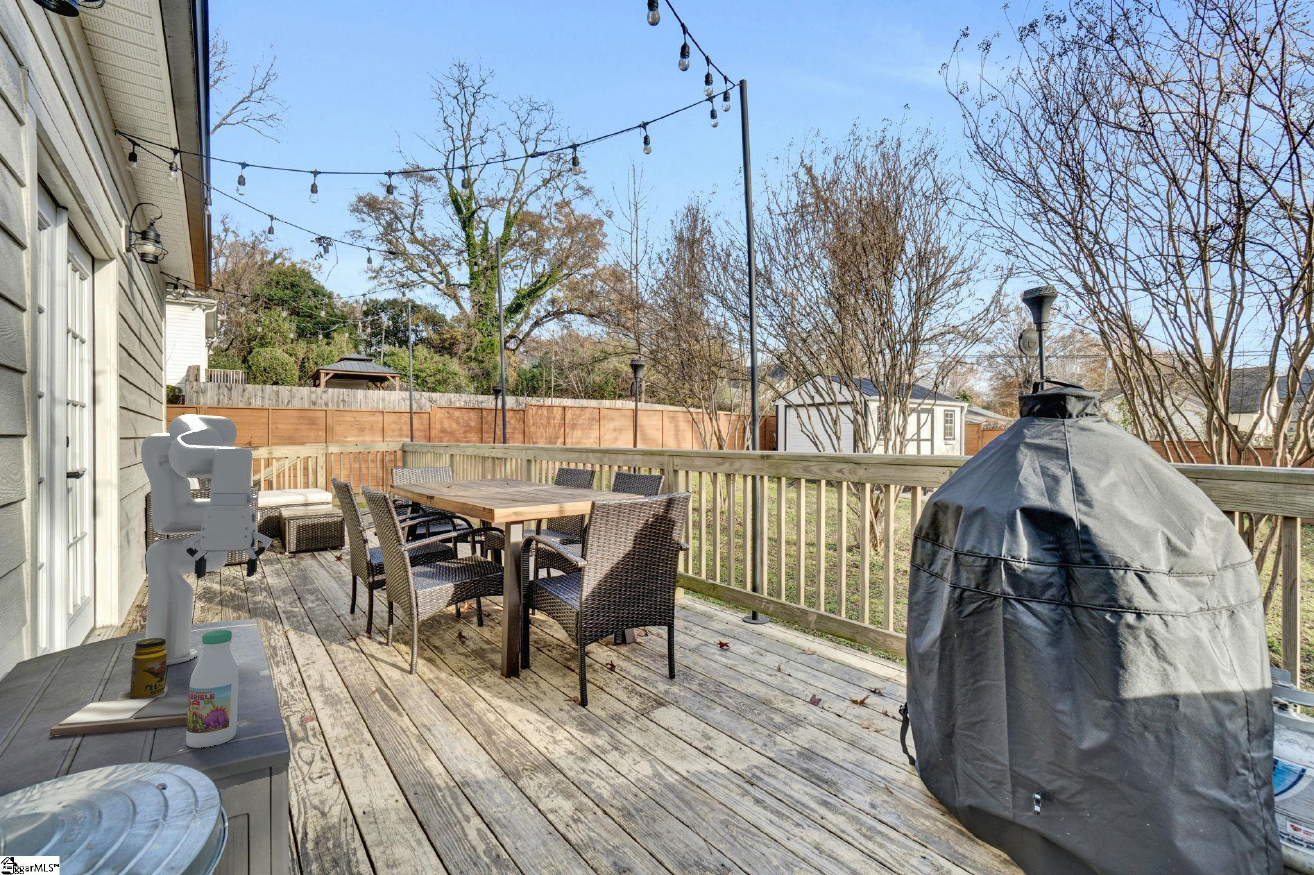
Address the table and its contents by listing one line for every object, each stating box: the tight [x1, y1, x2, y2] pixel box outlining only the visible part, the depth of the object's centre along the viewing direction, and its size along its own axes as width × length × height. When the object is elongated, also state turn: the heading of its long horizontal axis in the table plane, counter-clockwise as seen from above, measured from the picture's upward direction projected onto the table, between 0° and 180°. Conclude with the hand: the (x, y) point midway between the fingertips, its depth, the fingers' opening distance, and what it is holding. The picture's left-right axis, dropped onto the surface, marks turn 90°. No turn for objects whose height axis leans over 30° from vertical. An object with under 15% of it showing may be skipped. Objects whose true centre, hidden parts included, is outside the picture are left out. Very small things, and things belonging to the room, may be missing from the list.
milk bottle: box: [185, 629, 240, 749], centre depth 117 cm, size 8×8×20 cm
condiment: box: [116, 638, 169, 700], centre depth 138 cm, size 7×8×12 cm
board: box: [49, 694, 189, 737], centre depth 127 cm, size 14×24×2 cm, turn 108°
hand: (226, 576), depth 141 cm, fingers open, 9 cm apart
